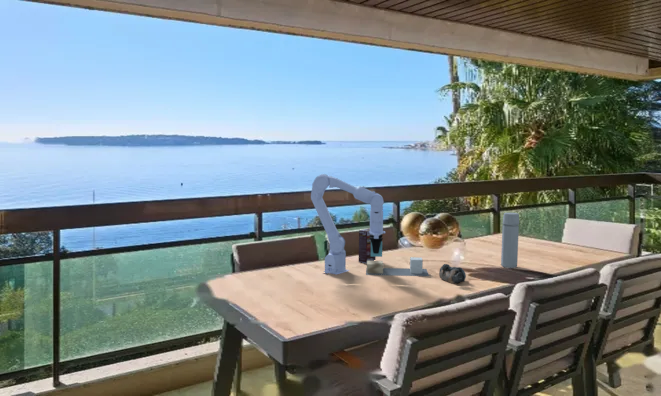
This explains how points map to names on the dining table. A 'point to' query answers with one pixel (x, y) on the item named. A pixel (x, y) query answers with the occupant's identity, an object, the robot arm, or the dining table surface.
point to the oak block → (375, 267)
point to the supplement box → (365, 246)
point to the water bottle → (510, 240)
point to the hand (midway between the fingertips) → (375, 252)
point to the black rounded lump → (452, 274)
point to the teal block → (378, 253)
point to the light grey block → (416, 265)
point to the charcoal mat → (399, 272)
